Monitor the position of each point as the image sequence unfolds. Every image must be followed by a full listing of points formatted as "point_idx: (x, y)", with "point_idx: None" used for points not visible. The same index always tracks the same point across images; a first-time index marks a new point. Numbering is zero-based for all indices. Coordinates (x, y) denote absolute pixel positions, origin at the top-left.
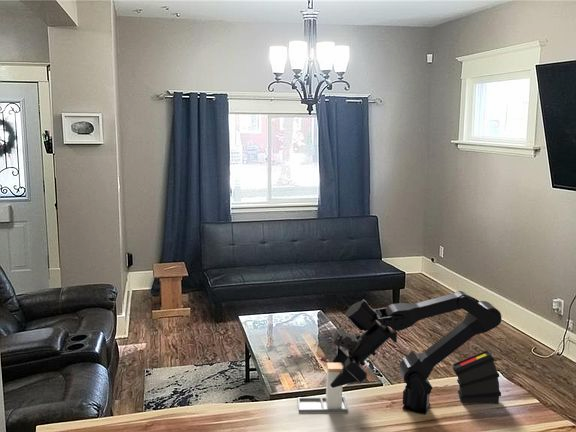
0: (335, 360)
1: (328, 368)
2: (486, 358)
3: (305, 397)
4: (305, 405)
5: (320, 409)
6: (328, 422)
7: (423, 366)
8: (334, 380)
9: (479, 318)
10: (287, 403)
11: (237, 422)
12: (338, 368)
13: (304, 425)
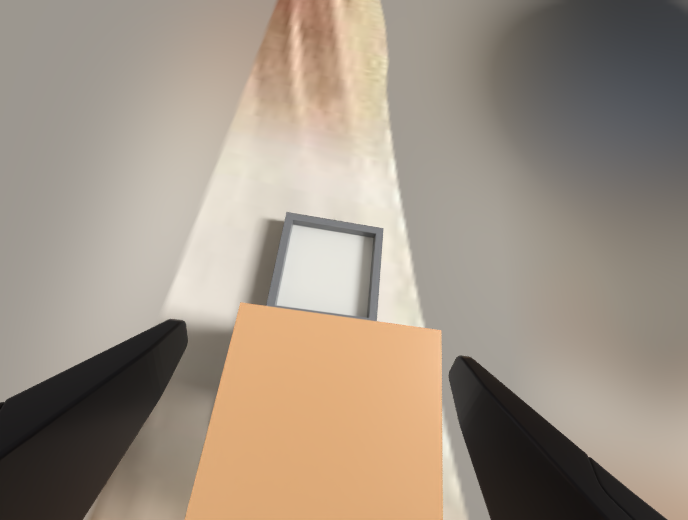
0: (558, 492)
1: (253, 306)
2: None
3: (380, 257)
4: (335, 252)
5: (269, 295)
6: (203, 317)
7: None
8: (110, 354)
9: None
10: (373, 204)
11: (282, 62)
12: (210, 483)
13: (210, 224)
